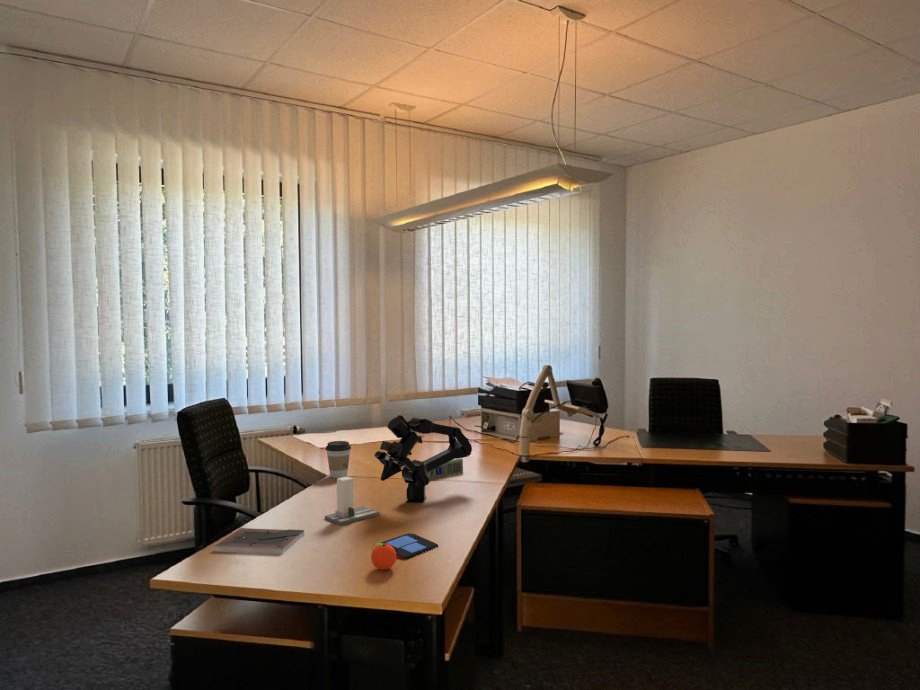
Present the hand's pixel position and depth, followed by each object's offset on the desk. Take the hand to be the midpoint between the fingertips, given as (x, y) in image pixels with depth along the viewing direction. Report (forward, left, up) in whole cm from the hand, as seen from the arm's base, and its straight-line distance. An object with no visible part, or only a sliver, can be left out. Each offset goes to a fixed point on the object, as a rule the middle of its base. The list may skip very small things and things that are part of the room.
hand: (381, 480), depth 226 cm
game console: (-17, +38, -11) cm, 43 cm away
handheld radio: (-14, -48, -11) cm, 52 cm away
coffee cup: (+30, -46, -11) cm, 56 cm away
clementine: (-13, +54, -11) cm, 56 cm away
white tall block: (+9, +13, -9) cm, 18 cm away
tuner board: (+8, +10, -11) cm, 17 cm away
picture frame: (+30, +37, -12) cm, 49 cm away
